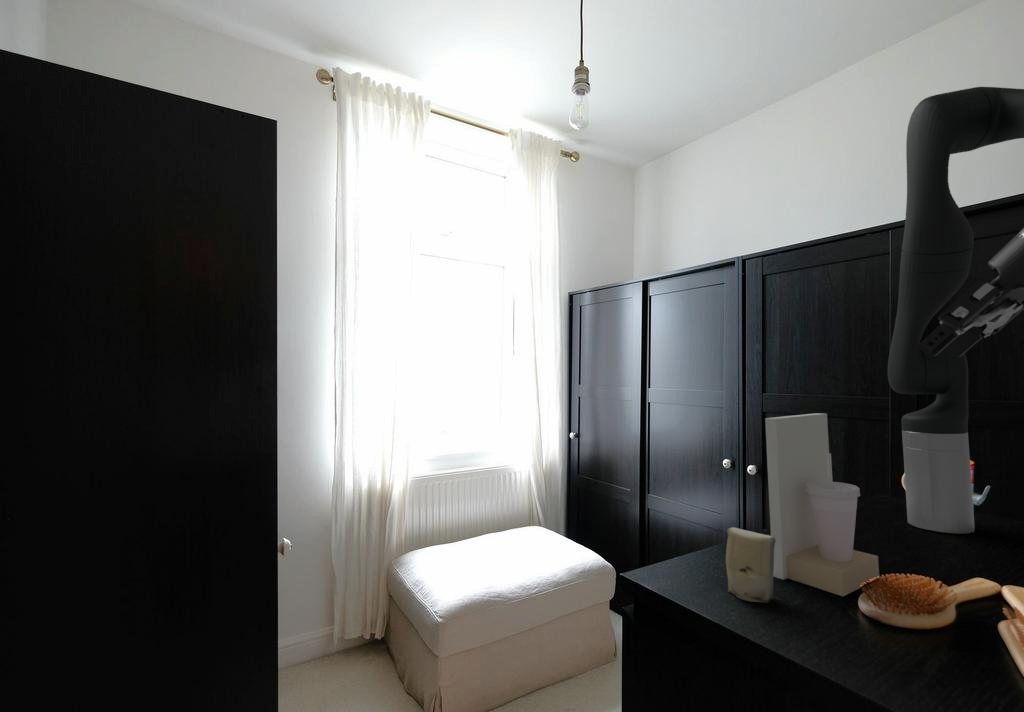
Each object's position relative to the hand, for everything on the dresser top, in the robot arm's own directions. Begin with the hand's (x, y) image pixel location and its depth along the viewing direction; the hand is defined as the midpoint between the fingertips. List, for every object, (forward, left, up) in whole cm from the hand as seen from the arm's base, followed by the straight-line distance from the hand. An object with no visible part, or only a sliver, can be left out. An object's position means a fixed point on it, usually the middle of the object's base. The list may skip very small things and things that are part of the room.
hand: (937, 352), depth 66 cm
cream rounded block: (+24, -13, -31) cm, 41 cm away
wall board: (+9, -11, -31) cm, 34 cm away
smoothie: (+10, -9, -28) cm, 31 cm away
